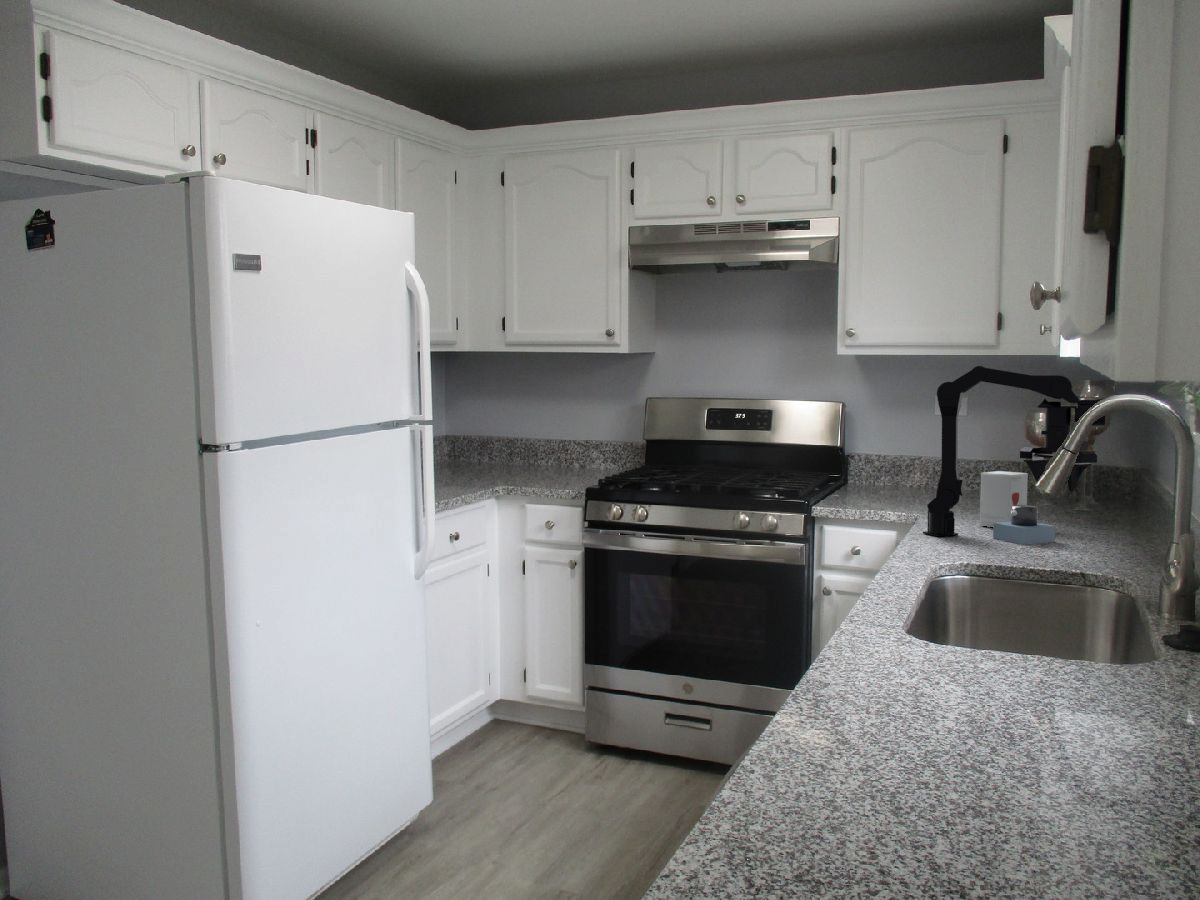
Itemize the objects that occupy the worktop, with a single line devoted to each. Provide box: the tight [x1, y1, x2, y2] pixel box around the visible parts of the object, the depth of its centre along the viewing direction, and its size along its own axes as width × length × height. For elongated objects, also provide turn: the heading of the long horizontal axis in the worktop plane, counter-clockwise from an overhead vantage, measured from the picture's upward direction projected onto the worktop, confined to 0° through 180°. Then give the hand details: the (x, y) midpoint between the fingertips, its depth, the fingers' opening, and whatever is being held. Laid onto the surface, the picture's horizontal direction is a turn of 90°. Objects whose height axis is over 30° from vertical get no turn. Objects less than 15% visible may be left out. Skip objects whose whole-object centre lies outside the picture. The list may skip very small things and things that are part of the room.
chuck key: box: [1010, 504, 1039, 526], centre depth 238 cm, size 8×6×8 cm
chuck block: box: [992, 522, 1056, 546], centre depth 238 cm, size 10×10×4 cm
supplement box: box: [979, 470, 1029, 528], centre depth 260 cm, size 9×9×15 cm
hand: (1056, 489), depth 234 cm, fingers open, 9 cm apart
